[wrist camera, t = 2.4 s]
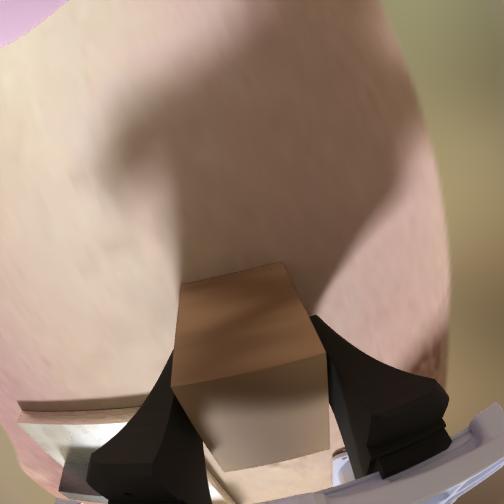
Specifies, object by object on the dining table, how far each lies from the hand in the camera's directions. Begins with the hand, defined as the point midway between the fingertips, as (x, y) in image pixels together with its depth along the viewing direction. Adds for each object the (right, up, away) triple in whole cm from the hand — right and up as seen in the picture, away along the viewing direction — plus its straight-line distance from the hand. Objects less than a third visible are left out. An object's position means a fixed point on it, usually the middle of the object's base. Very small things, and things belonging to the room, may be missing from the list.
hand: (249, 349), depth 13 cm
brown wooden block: (0, +1, +2) cm, 2 cm away
